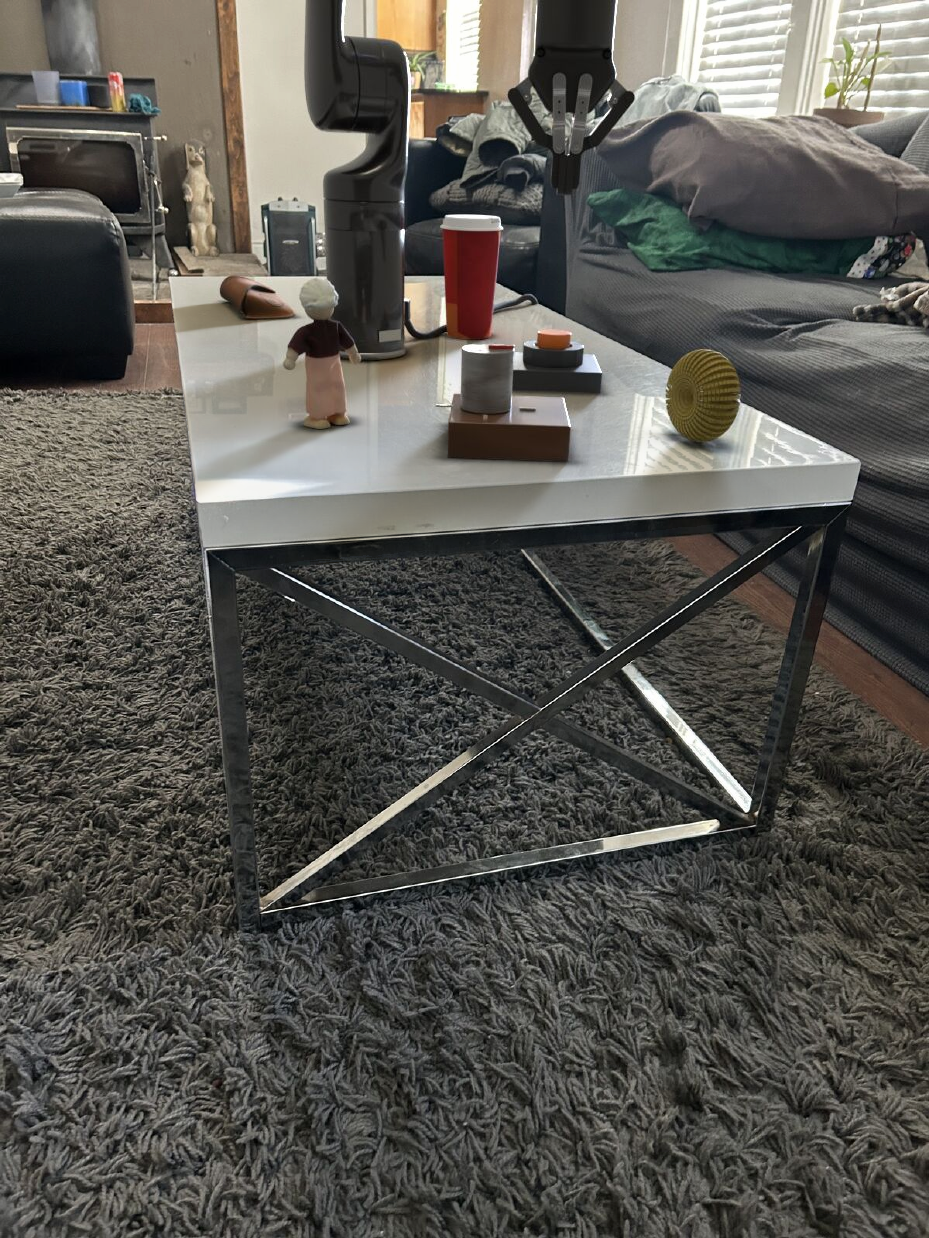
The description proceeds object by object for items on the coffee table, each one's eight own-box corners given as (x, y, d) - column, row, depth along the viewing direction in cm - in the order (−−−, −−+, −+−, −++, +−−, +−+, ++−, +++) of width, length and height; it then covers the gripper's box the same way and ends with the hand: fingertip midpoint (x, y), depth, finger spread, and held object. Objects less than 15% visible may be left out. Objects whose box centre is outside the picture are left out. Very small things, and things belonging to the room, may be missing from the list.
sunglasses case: (300, 314, 139) (274, 273, 135) (260, 341, 138) (233, 301, 135) (272, 296, 154) (248, 259, 150) (236, 321, 153) (211, 284, 149)
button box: (505, 370, 110) (507, 335, 109) (592, 373, 110) (595, 338, 108) (506, 390, 101) (507, 352, 100) (600, 393, 101) (603, 355, 99)
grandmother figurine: (338, 412, 91) (334, 272, 85) (367, 420, 89) (364, 277, 83) (276, 428, 86) (267, 279, 80) (305, 436, 84) (298, 284, 78)
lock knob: (460, 413, 80) (462, 349, 78) (460, 400, 84) (461, 339, 82) (512, 414, 80) (515, 350, 78) (510, 402, 84) (512, 340, 82)
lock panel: (438, 425, 88) (439, 391, 87) (561, 429, 88) (563, 395, 86) (431, 457, 79) (432, 419, 78) (568, 462, 79) (571, 424, 78)
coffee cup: (509, 334, 131) (515, 216, 125) (480, 343, 125) (484, 219, 118) (457, 327, 135) (460, 213, 129) (426, 336, 129) (427, 215, 122)
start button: (536, 345, 106) (537, 328, 105) (568, 346, 106) (569, 329, 105) (537, 351, 103) (538, 334, 102) (570, 352, 103) (572, 335, 102)
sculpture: (652, 431, 88) (662, 342, 85) (687, 427, 90) (699, 340, 86) (704, 454, 82) (718, 360, 78) (742, 450, 83) (757, 357, 80)
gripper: (642, 1, 93) (624, 195, 101) (506, -3, 93) (499, 191, 101) (653, -11, 86) (633, 199, 94) (507, -15, 86) (498, 194, 94)
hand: (563, 194), depth 97 cm, fingers closed
